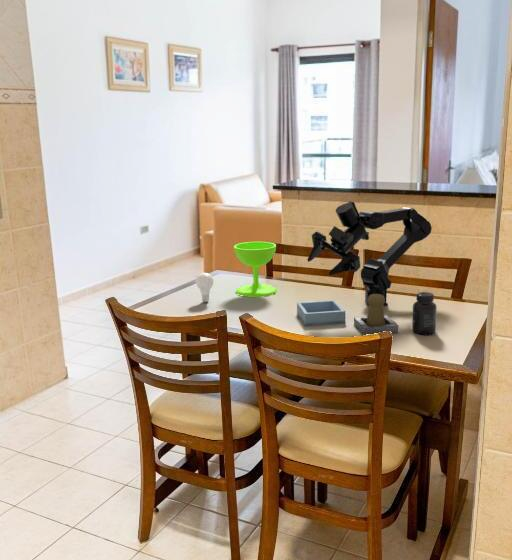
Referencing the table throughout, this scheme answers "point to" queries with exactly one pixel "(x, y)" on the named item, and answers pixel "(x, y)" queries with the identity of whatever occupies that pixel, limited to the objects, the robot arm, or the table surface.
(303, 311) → the plastic tray
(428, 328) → the supplement bottle
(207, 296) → the lightbulb
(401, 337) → the table surface
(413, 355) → the table surface
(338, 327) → the table surface
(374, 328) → the metal collar
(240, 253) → the wineglass
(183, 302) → the table surface
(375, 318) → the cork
